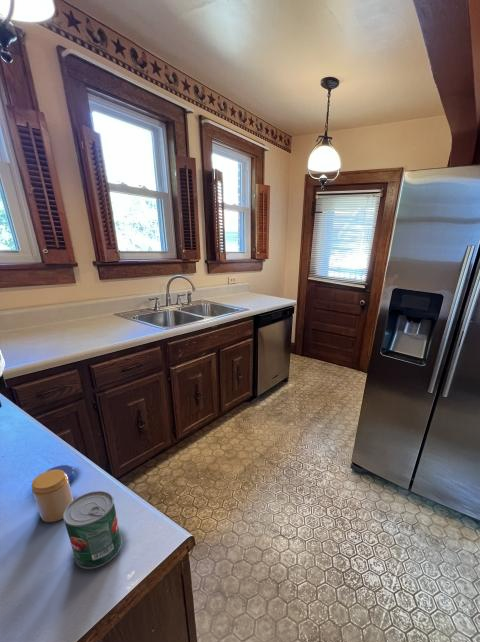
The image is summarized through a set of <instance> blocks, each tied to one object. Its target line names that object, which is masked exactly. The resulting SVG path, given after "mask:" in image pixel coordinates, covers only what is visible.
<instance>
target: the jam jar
mask: <svg viewBox="0 0 480 642" xmlns="http://www.w3.org/2000/svg"><path fill="white" fill-rule="evenodd" d="M31 491H32V495H33V499H34V501H35V504H36V507H37V510H38V513H39V516H40V519H41V520H42V521H43V522H46V523H55V522H58V521H61V520H62V519H63V513H64V510H65V509H66V507H67V506H68V505H69V504H70V503H71V502H72V501H73V500H75V498H74V495H73V491H72V488H71V483H69V480H68V477H67V476H66V473H65V472H64V471H62V470H57V469H56V470H50V471H47V470H45V471H44V472H42V473H40V474H39V475H37V476H36V477H35V478H33V480H32V482H31ZM63 520H64V519H63Z"/></svg>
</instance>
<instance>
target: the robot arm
mask: <svg viewBox="0 0 480 642" xmlns="http://www.w3.org/2000/svg"><path fill="white" fill-rule="evenodd" d="M5 367H6V361H5V358H4V356H3V353H2V350H1V349H0V391H4V390H6V389H8V386H7V383H6V380H5V377H4V374H3V373H4V370H5ZM2 406H3V405H2V402H1V401H0V409H1V408H2Z"/></svg>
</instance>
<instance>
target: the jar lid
mask: <svg viewBox="0 0 480 642" xmlns="http://www.w3.org/2000/svg"><path fill="white" fill-rule="evenodd" d="M56 469H57V470H62V471H64V472H65V473H66V476H67V477H68V480H69V484H71V482H72V481H74V479H75V477H76V473H75V469H74V466H71V465H69V464H61V465H57V466H54V467H51V468H49V469H47V470H46V471H50V470H56Z"/></svg>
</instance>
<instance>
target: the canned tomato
mask: <svg viewBox="0 0 480 642" xmlns="http://www.w3.org/2000/svg"><path fill="white" fill-rule="evenodd" d="M63 522H64V526H65V529H66V532H67V535H68V538H69V542H70V545H71V549H72V552H73V556H74V559H75V563H76V565H77V566H78V567H79V568H81V569H85V570H93V569H97V568H99V567H102V566H104V565H106V564H108V563H109V562H110V561H112V560H113V559H114V558H115V557H116V556H117V555H118V554H119V552H120V550H121V548H122V545H123V539H122V537H121V536H122V535H121V530H120V525H119V521H118V515H117V511H116V506H115V500H114V497H113V495H112V494H111V493H110V492H108V491H104V490H96V491H95V490H94V491H90V492H87V493H84V494H82V495H79V496H78V497H76V498H74V500H73V501H72V502H71V503H70V504H69V505H68V506H67V507H66V509H65V510H64V513H63Z"/></svg>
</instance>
